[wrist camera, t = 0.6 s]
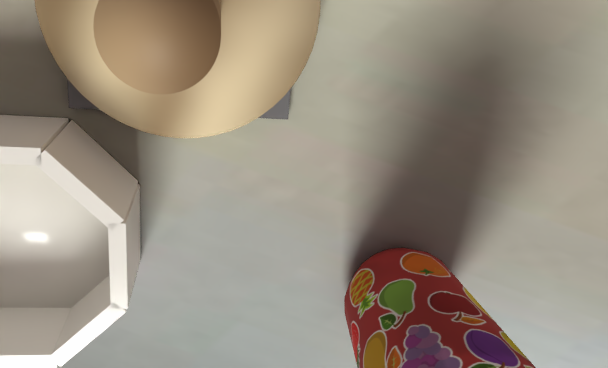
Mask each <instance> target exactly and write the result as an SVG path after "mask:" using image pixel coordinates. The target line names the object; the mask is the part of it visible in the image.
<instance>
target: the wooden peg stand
mask: <svg viewBox="0 0 608 368" xmlns="http://www.w3.org/2000/svg"><path fill="white" fill-rule="evenodd" d="M35 7H36V13H37V16H38V20H39V24H40V27H41V31H42V33H43V36H44V38H45V41H46V43H47V46H48V48H49V50H50V52H51V54H52V55H53V57H54V59H55V61H56V62H57V64H58V66H59V67H60V69H61V70H62V72H63V73H64V74H65V76H66V77H67V78H68V80H69V81H70V82H71V83H72V84H73V85H74V87H75V88H76V89H77V90H78V91H79V92H80V93H81V94H82V95H83V96H84V97H85V98H86V99H88V100H89V101H90V102H91V103H92V104H93V105H95V106H96V107H97V108H98V109H100V110H101V111H103V112H104V113H106V114H107V115H109V116H110V117H112V118H114V119H116V120H118V121H120V122H122V123H124V124H126V125H128V126H130V127H133V128H135V129H138V130H141V131H144V132H147V133H151V134H155V135H160V136H165V137H174V138H200V137H207V136H214V135H218V134H221V133H225V132H229V131H232V130H234V129H237V128H239V127H241V126H244V125H246V124H248V123H250V122H251V121H253V120H255V119H257V118H258V117H260V116H261V115H263V114H264V113H265V112H267V111H268V110H269V109H271V108H272V107H273V106H274V105H275V104H276V103H277V102H279V101H280V100H281V99H282V98H283V97H284V96H285V95H286V93H287V92H288V91H289V90H290V88H291V87H292V86H293V84H294V83H295V82H296V81H297V79H298V77H299V76H300V74H301V72H302V70H303V69H304V67H305V65H306V63H307V61H308V58H309V56H310V54H311V51H312V49H313V45H314V42H315V38H316V35H317V30H318V24H319V17H320V0H35Z"/></svg>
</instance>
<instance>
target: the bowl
mask: <svg viewBox="0 0 608 368" xmlns="http://www.w3.org/2000/svg"><path fill="white" fill-rule="evenodd" d="M140 260H141V243H140V184H138V180H136V179H135V178H134V177H133V176H132V175H131V174H130V173H129V172H128V171H127V170H126V169H125V168H124V167H122V166H121V165H120V164H119V163H118V162H117V161H116V160H115V159H114V158H113V157H112V156H111V155H110V154H108V153H107V152H106V151H105V150H104V149H103V148H102V147H101V146H100V145H99V144H98V143H97V142H96V141H94V140H93V139H92V138H91V137H90V136H89V135H88V134H87V133H86V132H85V131H84V130H83V129H82V128H80V127H79V126H78V125H77V124H76V123H75V122H74V121H73V120H71V121H70V122H69V120H68V118H55V117H35V116H15V115H0V368H57V367H58V365H59V366H60V367H61V366H62V365H63V364H65V363H66V362H67V361H68V360H69V359H71V358H72V357H73V356H74V355H75V354H77V353H78V352H79V351H80V350H81V349H82V348H84V347H85V346H86V345H87V344H88V343H90V342H91V341H92V340H93V339H94V338H96V337H97V336H98V335H99V334H100V333H102V332H103V331H104V330H105V329H106V328H108V327H109V326H110V325H111V324H112V323H113V322H115V321H116V320H117V319H118V318H119V317H121V316H122V315H123V314H124V313H125V312H126V311H127V309H128V306H129V302H130V298H131V294H132V291H133V287H134V283H135V279H136V275H137V272H138V268H139V264H140Z"/></svg>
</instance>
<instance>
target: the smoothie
mask: <svg viewBox="0 0 608 368" xmlns="http://www.w3.org/2000/svg"><path fill="white" fill-rule="evenodd" d="M345 316H346V320H347V324H348V329H349V333H350V337H351V341H352V345H353V350H354V354H355V358H356V362H357V367H358V368H535V366H534V365H533V364H532V363H531V362H530V361H529V360H528V359H527V357H526V356H525V355H524V354H523V353H522V352H521V351H520V350H519V348H518V347H517V346H516V345H515V344H514V343H513V342H512V340H511V339H510V338H509V337H508V336H507V335H506V334H505V333H504V331H503V330H502V329H501V328H500V327H499V326H498V325H497V323H496V322H495V321H494V320H493V319H492V318H491V317H490V316H489V314H488V313H487V312H486V311H485V310H484V309H483V308H482V306H481V305H480V304H479V303H478V302H477V301H476V300H475V299H474V297H473V296H472V295H471V294H470V293H469V292H468V291H467V289H466V288H465V287H464V286H463V285H462V284H461V283H460V282H459V280H458V279H457V278H456V277H455V276H454V275H453V274H452V273H451V271H450V270H449V269H448V268H447V267H446V266H445V265H444V263H443V262H442V261H441V260H439V259H438V258H436V257H434V256H433V255H431V254H429V253H428V252H423V251H418V250H413V249H407V248H394V249H387V250H384V251H382V252H379V253H377V254H374V255H373V256H372V257H370V258H369V259H367V260H366V261H365V262H363V263H362V264H361V266H360V267H359V268H358V270H357V271H356V272H355V274H354V276H353V279H352V280H351V282H350V284H349V287H348V289H347V292H346V295H345Z"/></svg>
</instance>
